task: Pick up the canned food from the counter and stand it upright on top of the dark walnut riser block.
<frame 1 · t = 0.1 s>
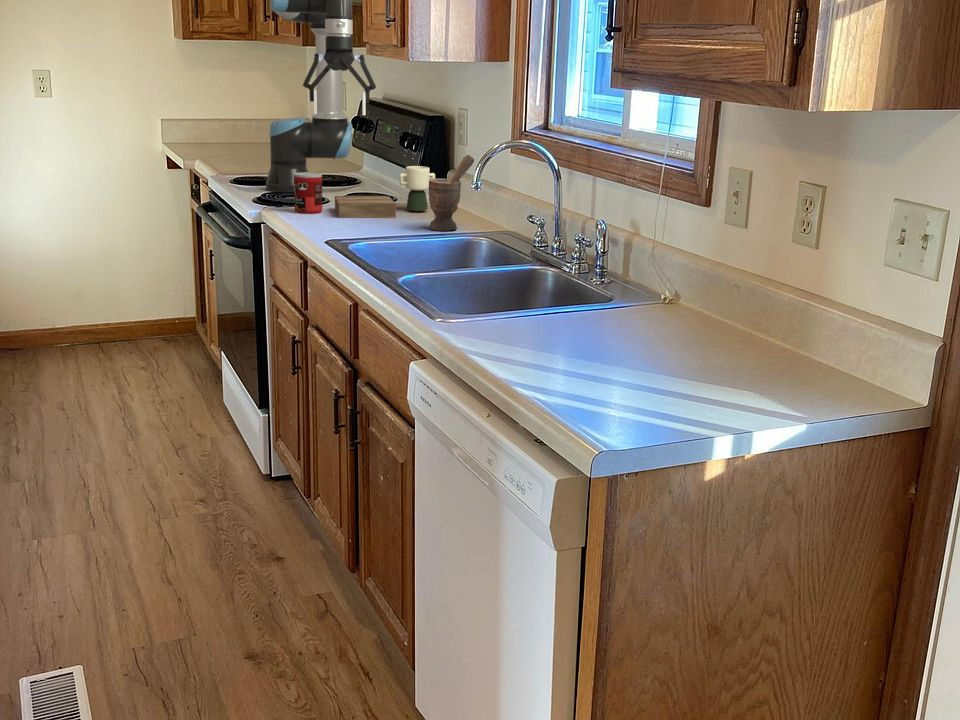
hand: (339, 114, 284), 28 cm above the counter, fingers open, 13 cm apart
mortar and pestle: (449, 229, 271), on the counter
walnut base: (364, 213, 292), on the counter
character mug: (417, 212, 299), on the counter
canned food: (308, 212, 292), on the counter
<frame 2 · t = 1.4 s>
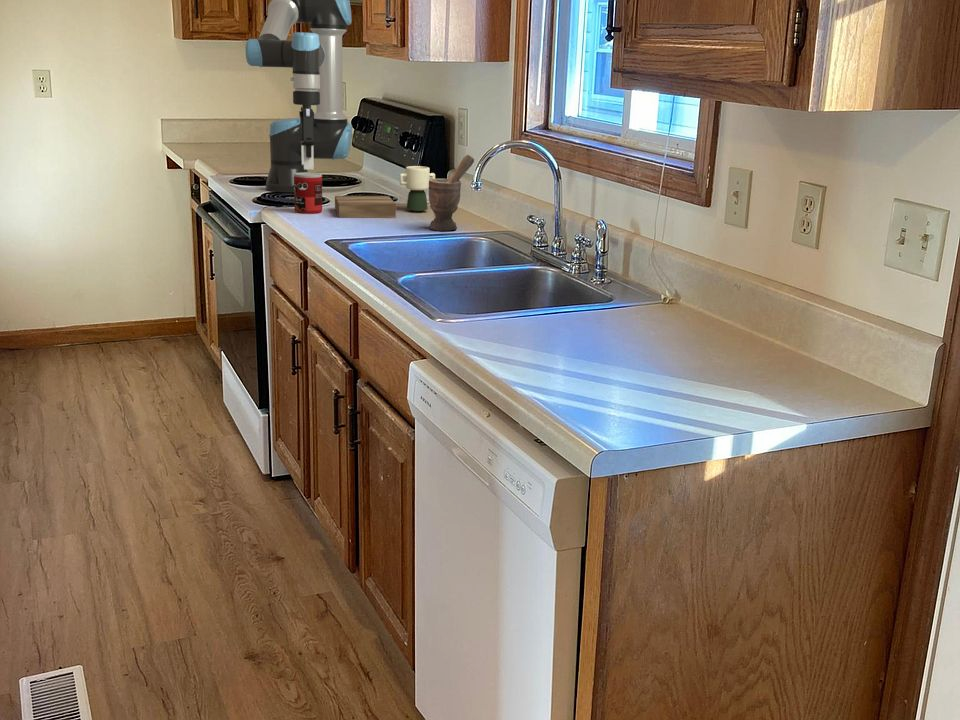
hand: (307, 167, 287), 13 cm above the counter, fingers open, 13 cm apart
nothing on the counter moved.
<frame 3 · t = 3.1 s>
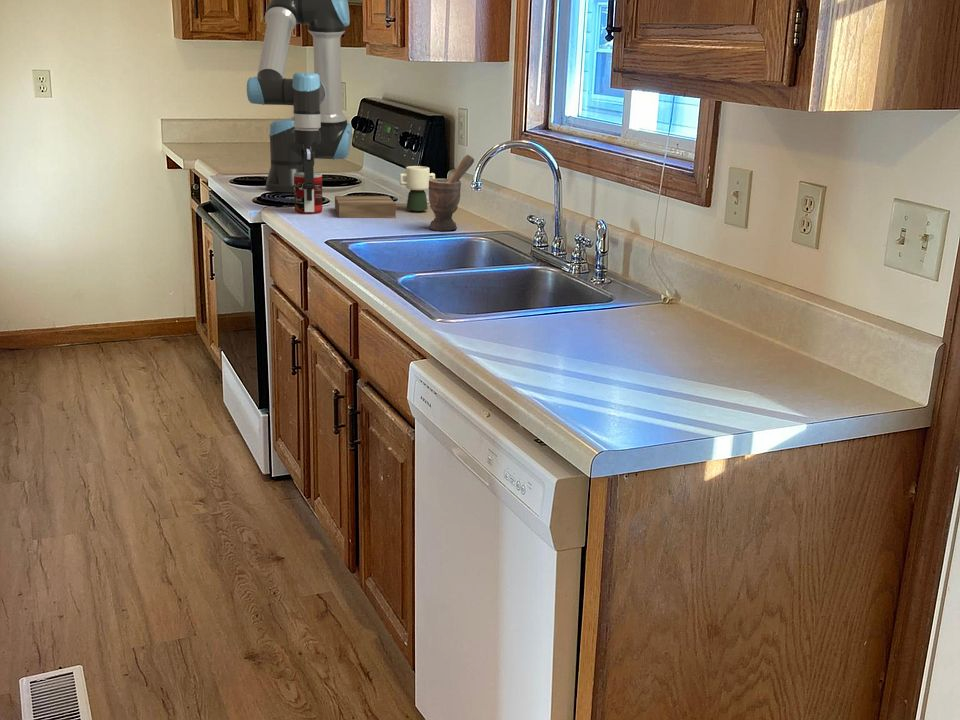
hand: (308, 209, 291), 1 cm above the counter, fingers closed on canned food, 8 cm apart
canned food: (308, 212, 292), on the counter, touching gripper
everything else where it was.
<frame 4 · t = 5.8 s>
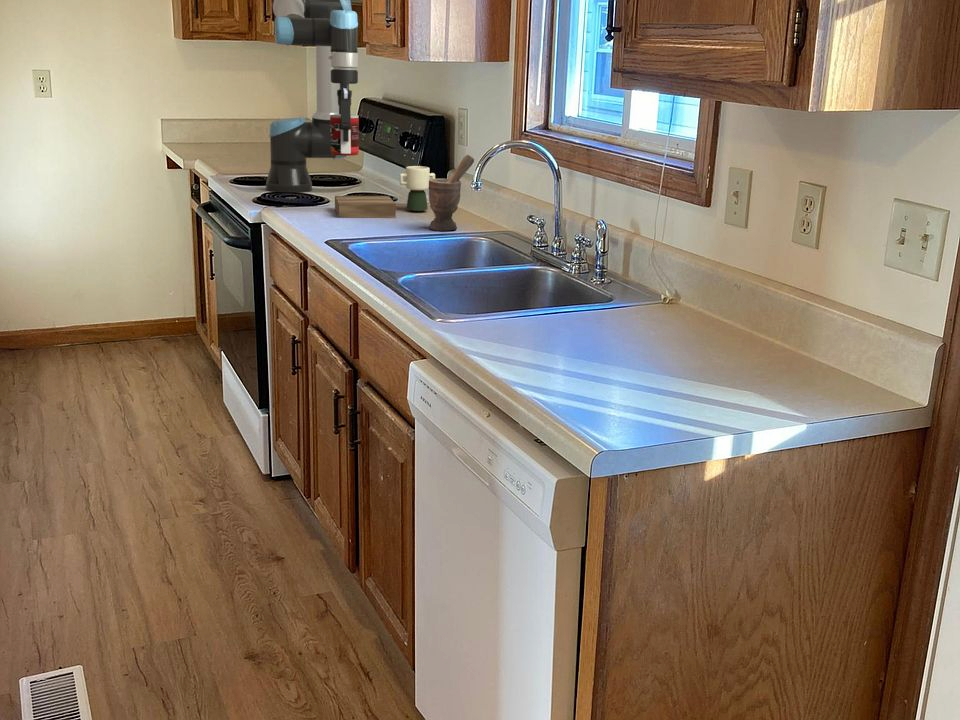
hand: (344, 151, 287), 18 cm above the counter, fingers closed on canned food, 8 cm apart
canned food: (344, 155, 287), point 17 cm above the counter, touching gripper
everything else where it was.
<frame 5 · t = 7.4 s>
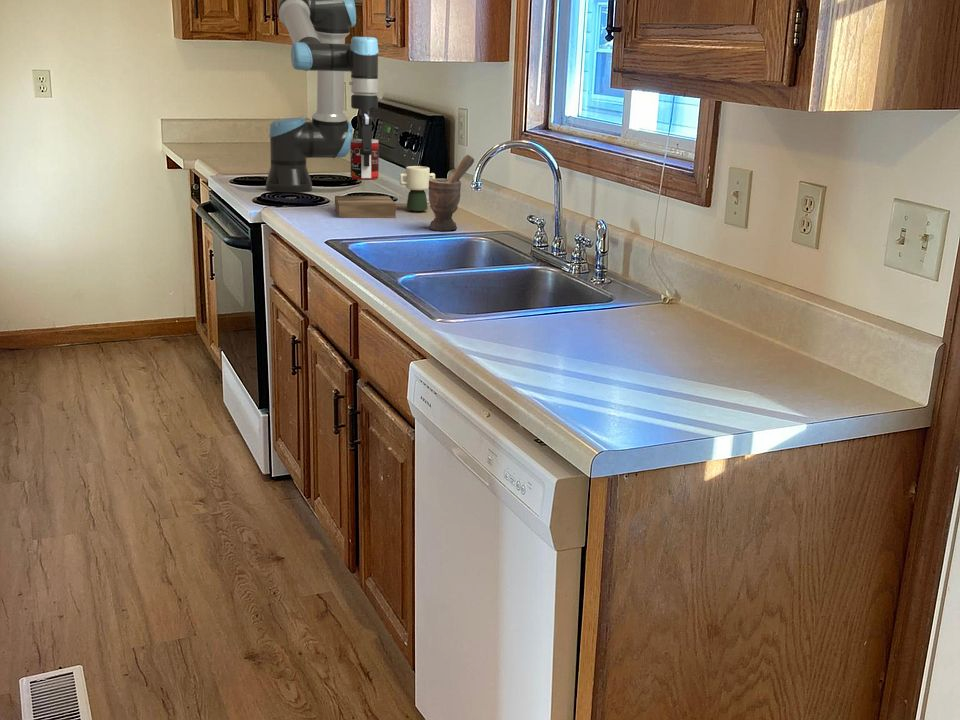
hand: (364, 176, 289), 11 cm above the counter, fingers closed on canned food, 8 cm apart
canned food: (364, 179, 289), point 10 cm above the counter, touching gripper
everything else where it was.
when the fingers open (7 cm above the counter, at t = 8.6 s): canned food drops 2 cm, resting on walnut base.
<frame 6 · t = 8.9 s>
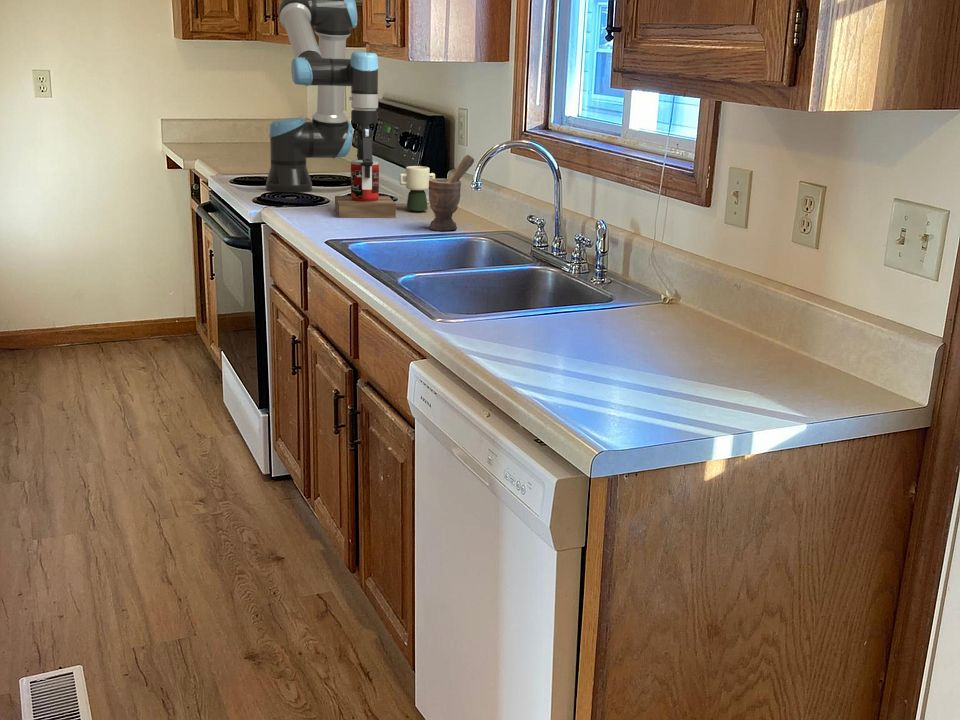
hand: (364, 186, 290), 8 cm above the counter, fingers open, 12 cm apart
canned food: (364, 200, 291), point 4 cm above the counter, touching walnut base
everything else where it was.
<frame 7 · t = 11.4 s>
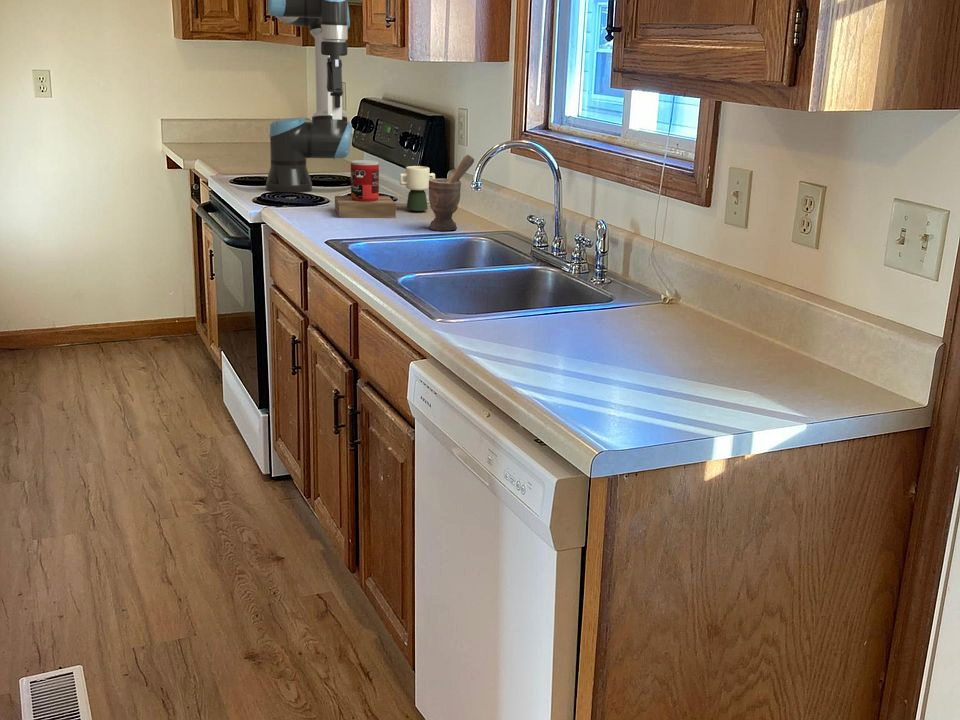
hand: (334, 117, 294), 26 cm above the counter, fingers open, 13 cm apart
nothing on the counter moved.
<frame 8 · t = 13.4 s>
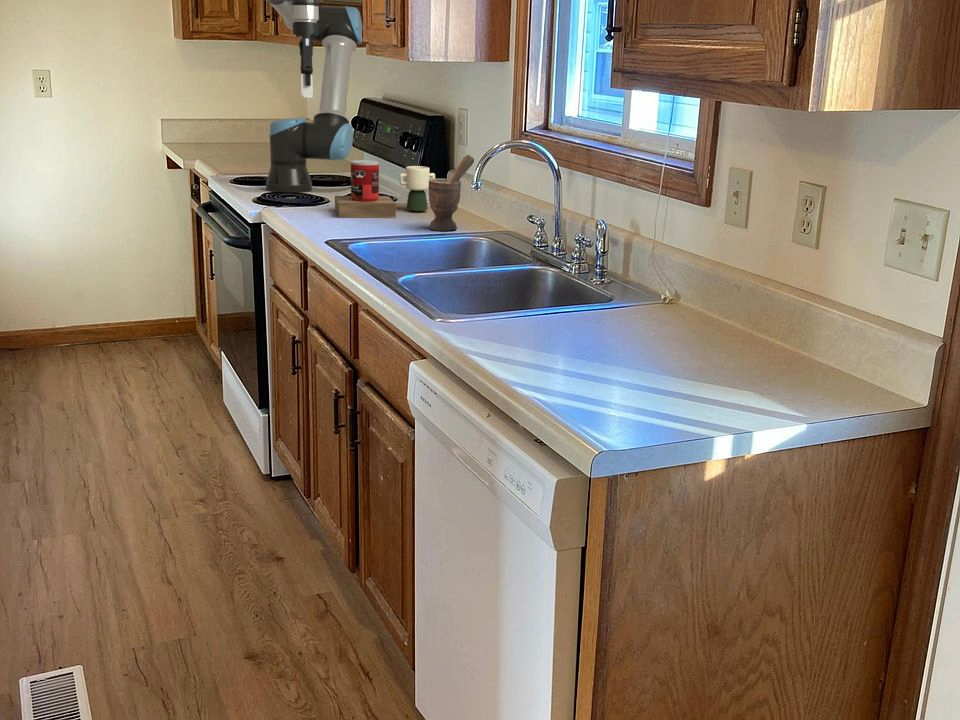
hand: (306, 96, 299), 32 cm above the counter, fingers open, 13 cm apart
nothing on the counter moved.
at the end: canned food inside the target area on the walnut base (0.5 cm from its centre), point 3.8 cm above the walnut base's base; canned food tilted 0°; the gripper is holding nothing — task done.
